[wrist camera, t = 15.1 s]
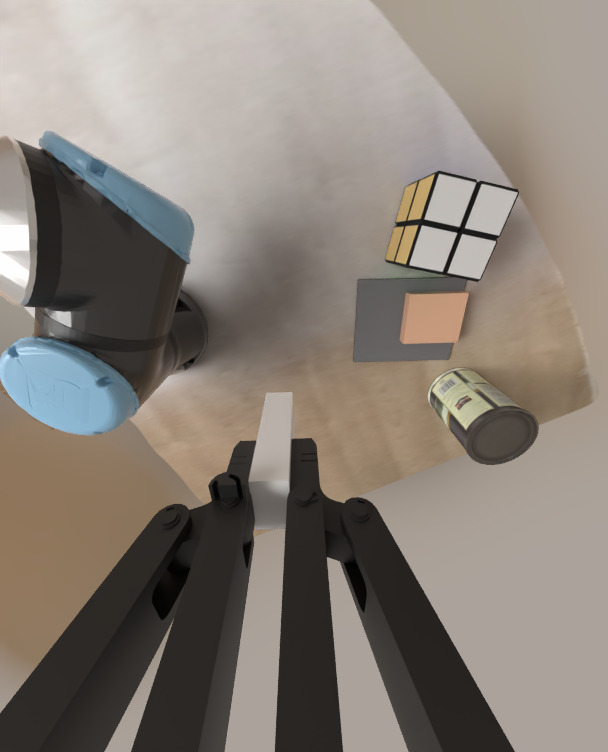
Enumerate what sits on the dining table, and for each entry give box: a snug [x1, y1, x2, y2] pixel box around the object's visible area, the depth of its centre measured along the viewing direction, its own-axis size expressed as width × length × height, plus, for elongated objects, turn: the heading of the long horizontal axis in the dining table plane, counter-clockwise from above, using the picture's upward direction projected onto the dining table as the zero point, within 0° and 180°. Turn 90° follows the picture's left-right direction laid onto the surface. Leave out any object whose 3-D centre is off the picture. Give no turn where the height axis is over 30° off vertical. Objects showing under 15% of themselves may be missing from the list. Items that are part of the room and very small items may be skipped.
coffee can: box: [428, 368, 539, 465], centre depth 48 cm, size 10×10×14 cm
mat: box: [353, 277, 466, 362], centre depth 47 cm, size 17×14×1 cm
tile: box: [400, 291, 469, 344], centre depth 46 cm, size 2×8×9 cm
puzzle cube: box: [385, 171, 519, 282], centre depth 37 cm, size 10×10×10 cm
